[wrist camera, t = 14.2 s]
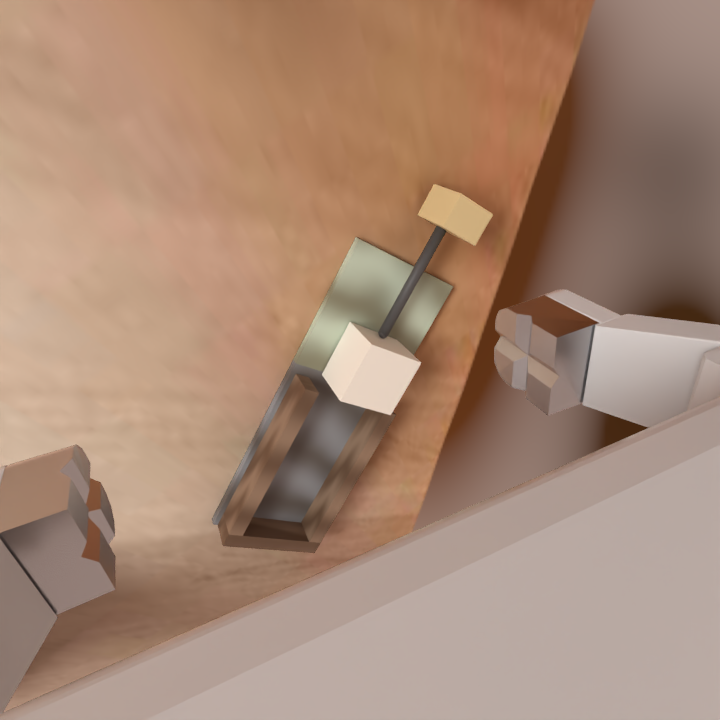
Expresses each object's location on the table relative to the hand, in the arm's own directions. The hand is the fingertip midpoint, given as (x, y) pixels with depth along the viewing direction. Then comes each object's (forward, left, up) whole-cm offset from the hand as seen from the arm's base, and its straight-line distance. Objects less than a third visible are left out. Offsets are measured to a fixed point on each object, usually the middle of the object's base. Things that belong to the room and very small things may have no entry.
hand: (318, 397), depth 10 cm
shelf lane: (-15, -23, -34) cm, 44 cm away
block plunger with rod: (-2, -23, -33) cm, 40 cm away
